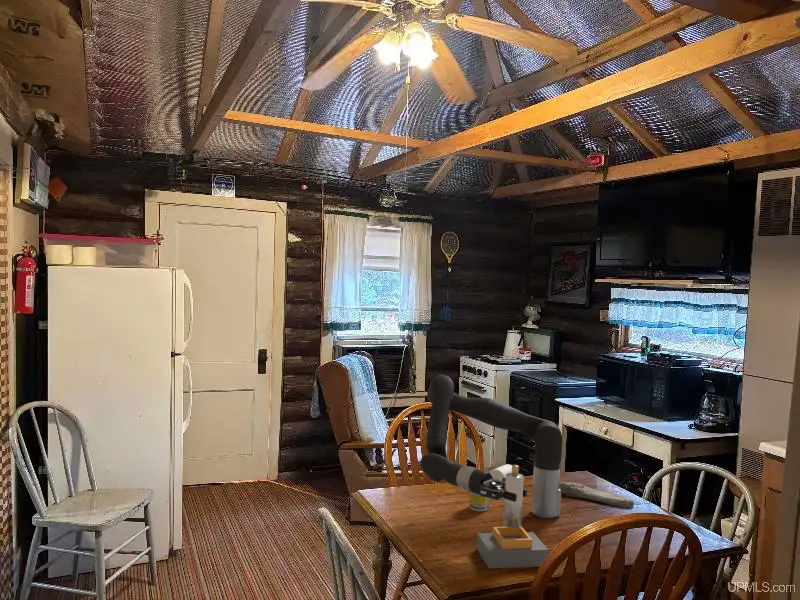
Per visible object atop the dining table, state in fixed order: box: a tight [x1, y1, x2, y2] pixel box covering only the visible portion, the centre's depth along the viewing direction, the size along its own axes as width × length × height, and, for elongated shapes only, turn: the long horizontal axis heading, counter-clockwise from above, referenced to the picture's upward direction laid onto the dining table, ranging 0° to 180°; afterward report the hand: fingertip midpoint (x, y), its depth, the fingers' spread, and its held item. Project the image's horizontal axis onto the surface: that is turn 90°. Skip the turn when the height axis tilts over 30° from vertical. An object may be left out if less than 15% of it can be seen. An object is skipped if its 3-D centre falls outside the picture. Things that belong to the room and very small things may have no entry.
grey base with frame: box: [476, 525, 549, 569], centre depth 173 cm, size 18×14×8 cm
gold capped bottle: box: [502, 464, 525, 528], centre depth 172 cm, size 5×5×18 cm
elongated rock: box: [559, 480, 635, 509], centre depth 227 cm, size 35×5×10 cm
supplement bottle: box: [469, 492, 490, 512], centre depth 210 cm, size 7×7×13 cm
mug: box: [489, 463, 513, 481], centre depth 234 cm, size 12×10×8 cm
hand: (521, 495), depth 171 cm, fingers closed on gold capped bottle, 5 cm apart
